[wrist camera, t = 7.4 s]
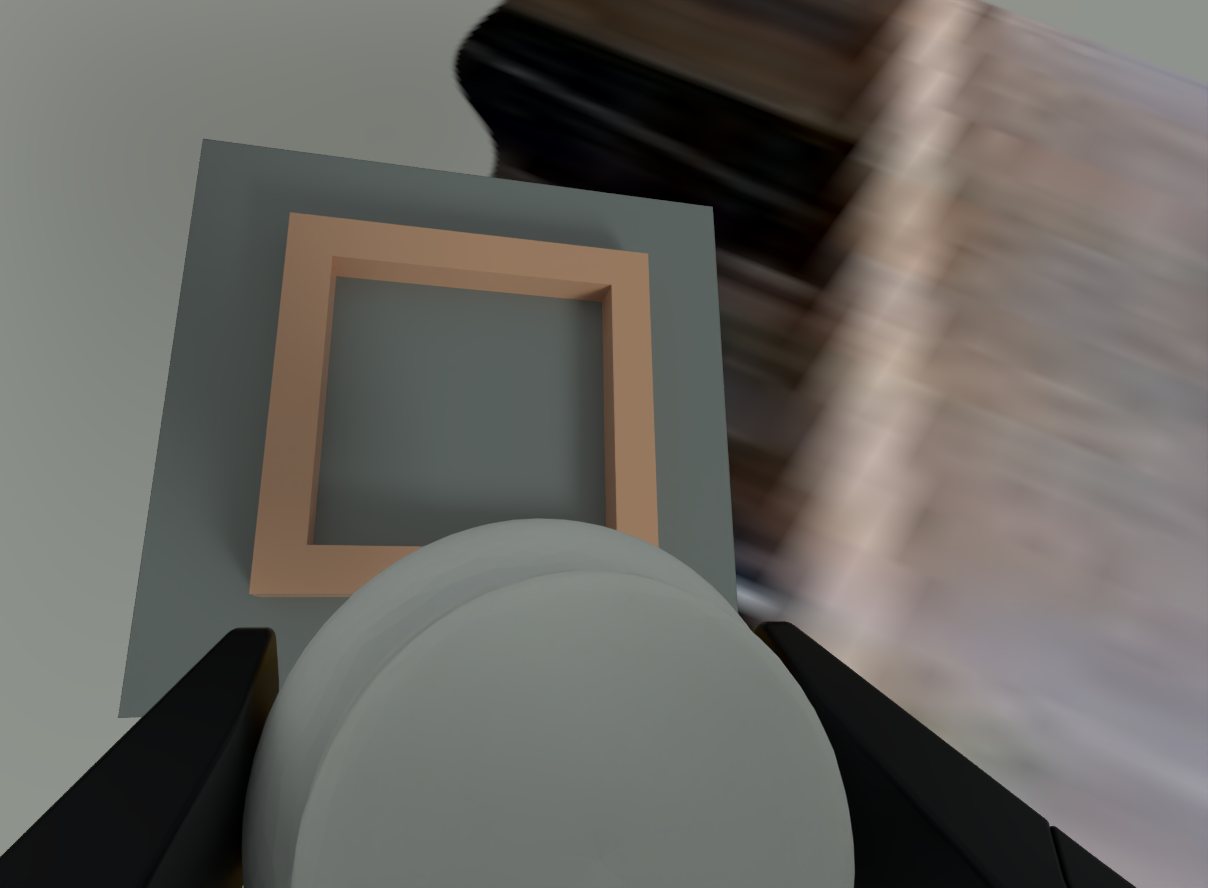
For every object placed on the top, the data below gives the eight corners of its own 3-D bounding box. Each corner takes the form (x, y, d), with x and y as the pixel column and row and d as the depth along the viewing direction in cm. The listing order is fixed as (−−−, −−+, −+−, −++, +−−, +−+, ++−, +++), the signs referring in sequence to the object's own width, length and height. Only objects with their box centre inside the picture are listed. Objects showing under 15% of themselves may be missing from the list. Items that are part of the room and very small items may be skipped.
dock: (731, 694, 22) (761, 698, 20) (129, 715, 18) (97, 722, 16) (703, 219, 26) (726, 186, 24) (210, 155, 22) (191, 110, 21)
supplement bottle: (486, 523, 16) (586, 320, 6) (675, 710, 15) (1084, 809, 6) (270, 735, 14) (-94, 937, 4) (483, 950, 14) (628, 1684, 4)
